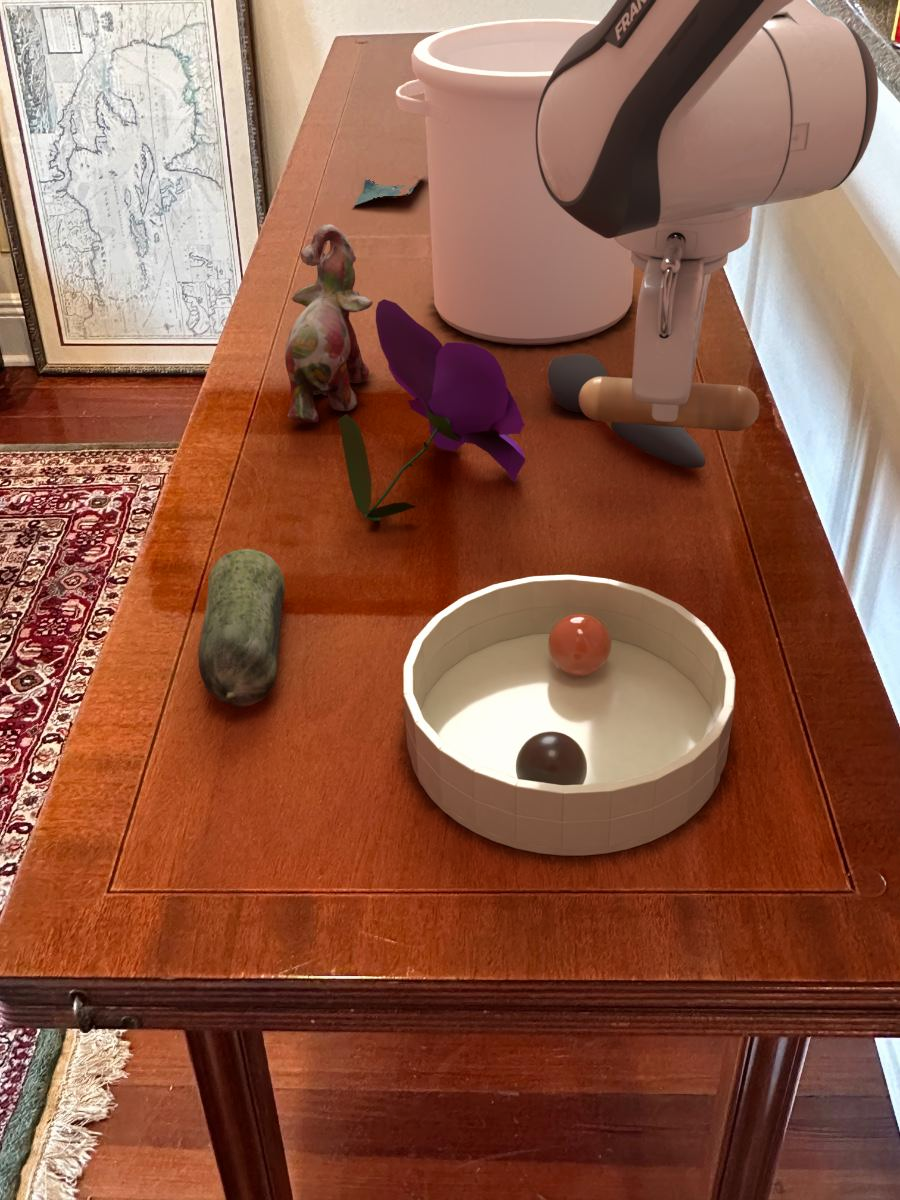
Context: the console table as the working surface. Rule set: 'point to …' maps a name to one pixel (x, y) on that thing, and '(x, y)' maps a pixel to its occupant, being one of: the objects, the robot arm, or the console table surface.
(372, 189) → the terrain model
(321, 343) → the figurine
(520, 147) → the pot
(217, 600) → the vegetable
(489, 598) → the bowl
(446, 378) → the flower
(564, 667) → the bead terracotta
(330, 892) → the console table surface
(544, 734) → the bead walnut
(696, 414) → the stick
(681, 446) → the paintbrush
